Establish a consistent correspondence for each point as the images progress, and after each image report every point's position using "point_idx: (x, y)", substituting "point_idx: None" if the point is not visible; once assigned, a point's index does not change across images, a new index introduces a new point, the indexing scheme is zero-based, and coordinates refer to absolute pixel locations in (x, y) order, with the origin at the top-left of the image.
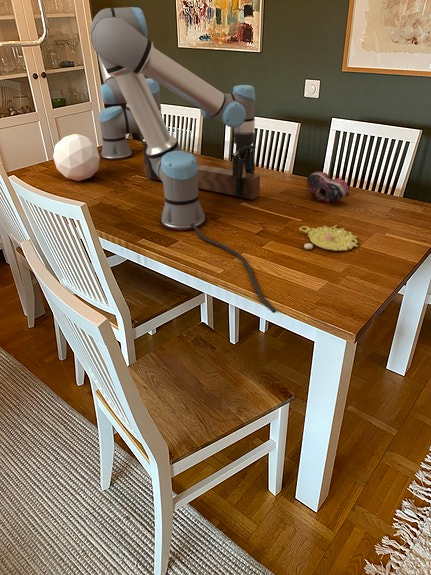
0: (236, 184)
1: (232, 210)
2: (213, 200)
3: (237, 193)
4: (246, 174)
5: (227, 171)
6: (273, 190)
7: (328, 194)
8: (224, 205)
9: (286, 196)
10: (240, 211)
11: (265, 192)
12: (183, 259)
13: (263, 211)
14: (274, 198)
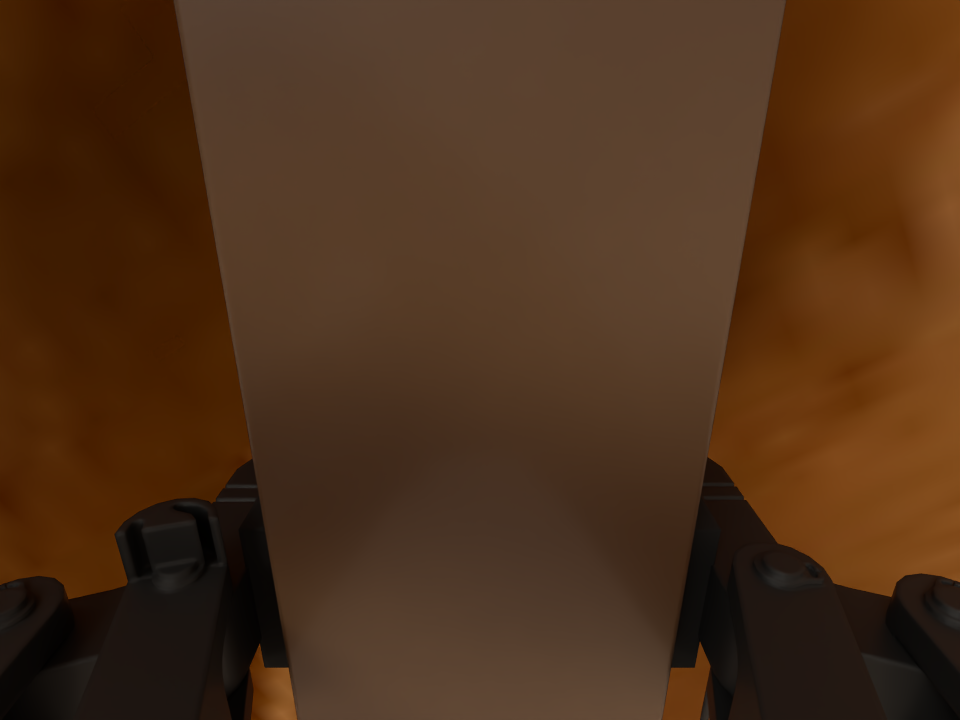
0: (216, 506)
1: (63, 456)
2: (135, 19)
3: None
4: (533, 688)
5: (525, 6)
6: (877, 552)
7: None
8: (107, 292)
9: None
10: (108, 536)
11: (779, 508)
12: None
13: (266, 695)
14: None
